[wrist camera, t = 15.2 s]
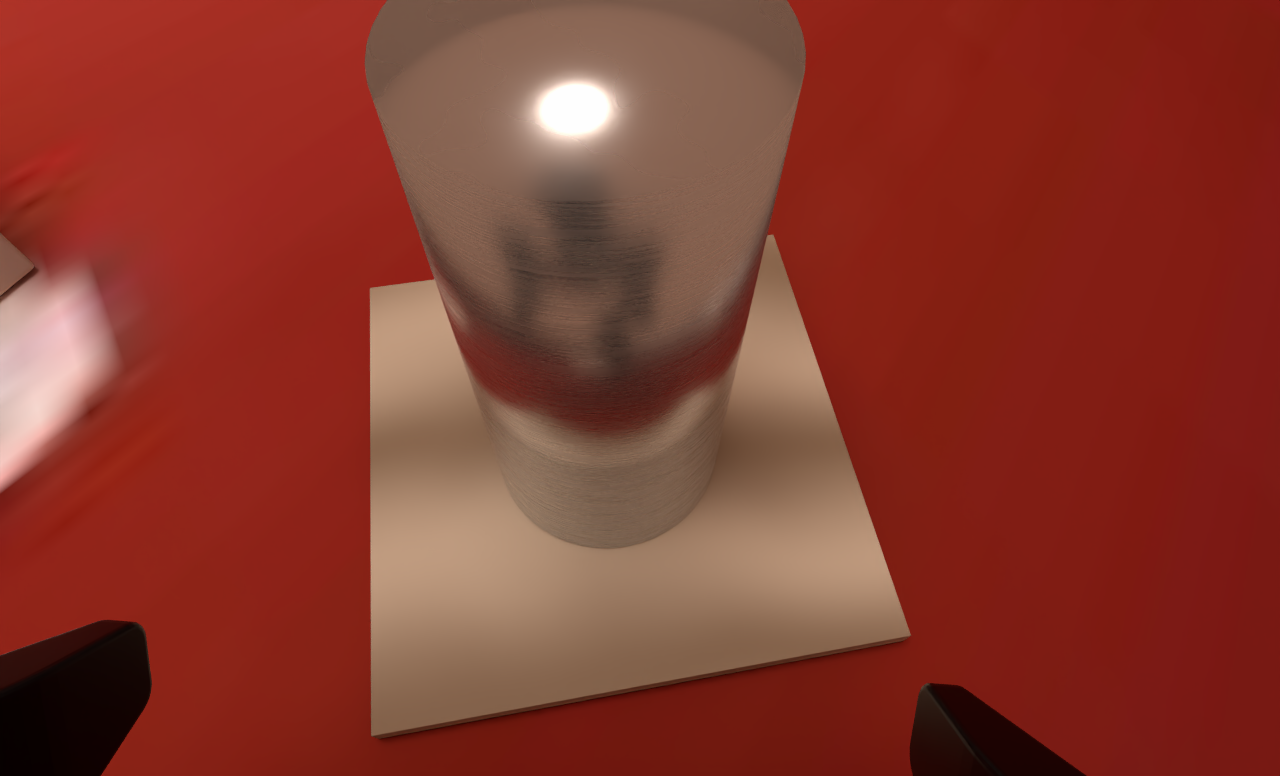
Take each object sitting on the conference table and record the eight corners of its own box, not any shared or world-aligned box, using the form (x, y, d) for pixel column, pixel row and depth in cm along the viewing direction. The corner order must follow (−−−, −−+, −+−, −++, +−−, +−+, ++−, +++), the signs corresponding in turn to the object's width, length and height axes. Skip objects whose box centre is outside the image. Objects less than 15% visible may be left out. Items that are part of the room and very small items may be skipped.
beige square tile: (903, 640, 19) (910, 635, 19) (378, 739, 18) (371, 736, 18) (770, 247, 26) (773, 234, 25) (375, 299, 25) (370, 288, 24)
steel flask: (739, 526, 20) (866, 166, 9) (510, 566, 20) (366, 230, 9) (689, 339, 23) (743, -97, 12) (490, 369, 23) (363, -63, 12)
